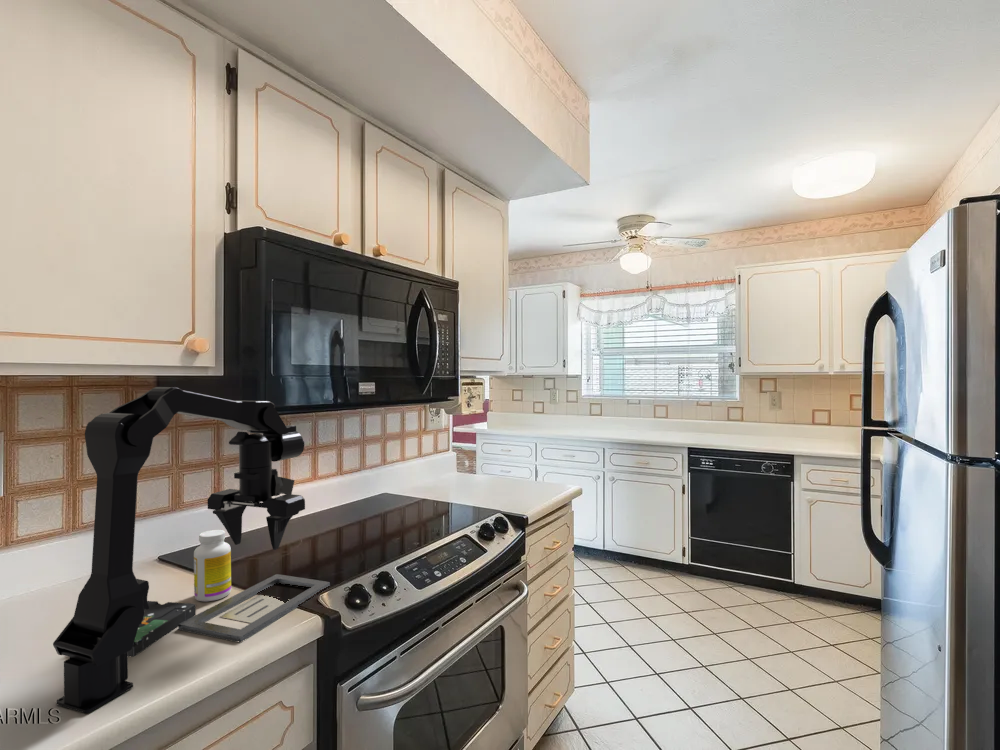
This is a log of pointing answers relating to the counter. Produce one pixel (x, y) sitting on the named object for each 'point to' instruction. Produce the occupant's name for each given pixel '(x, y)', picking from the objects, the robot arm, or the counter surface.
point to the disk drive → (160, 623)
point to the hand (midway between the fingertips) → (256, 546)
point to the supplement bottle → (212, 567)
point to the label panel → (251, 609)
